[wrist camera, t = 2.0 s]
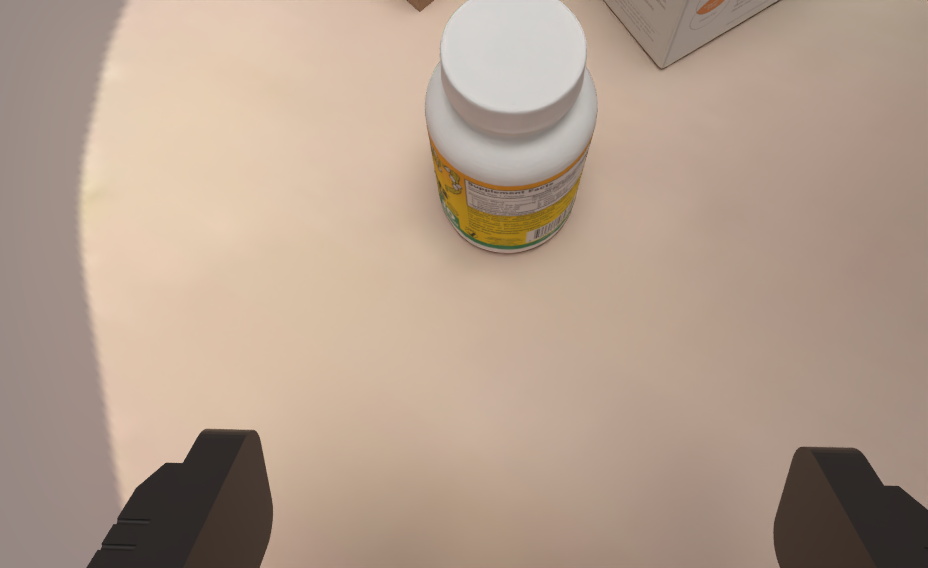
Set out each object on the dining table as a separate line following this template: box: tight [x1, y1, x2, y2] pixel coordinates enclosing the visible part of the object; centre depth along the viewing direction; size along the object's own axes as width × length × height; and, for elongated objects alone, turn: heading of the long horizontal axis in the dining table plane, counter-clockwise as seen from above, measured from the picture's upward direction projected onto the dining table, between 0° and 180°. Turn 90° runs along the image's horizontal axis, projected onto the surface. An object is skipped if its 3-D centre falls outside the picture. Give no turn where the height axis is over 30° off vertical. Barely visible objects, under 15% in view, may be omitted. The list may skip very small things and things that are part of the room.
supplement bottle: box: [425, 0, 597, 253], centre depth 23 cm, size 5×5×10 cm
